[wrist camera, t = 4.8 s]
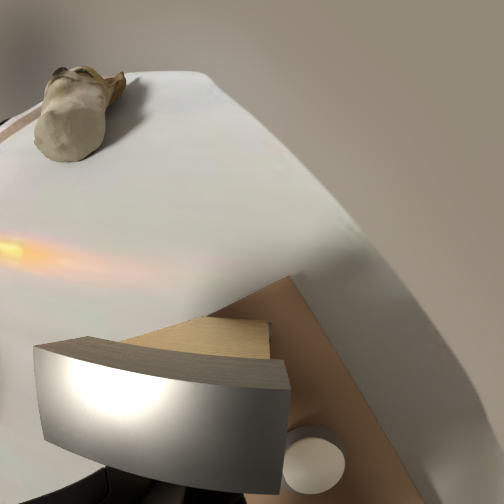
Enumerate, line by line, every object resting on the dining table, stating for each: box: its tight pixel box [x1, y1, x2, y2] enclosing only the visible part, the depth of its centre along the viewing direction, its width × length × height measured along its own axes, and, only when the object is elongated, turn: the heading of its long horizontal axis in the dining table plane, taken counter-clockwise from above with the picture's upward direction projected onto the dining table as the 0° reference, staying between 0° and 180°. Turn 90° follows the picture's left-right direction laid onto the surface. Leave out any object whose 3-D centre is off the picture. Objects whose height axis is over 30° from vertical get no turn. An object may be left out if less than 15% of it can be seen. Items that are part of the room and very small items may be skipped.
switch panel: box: [206, 276, 425, 504], centre depth 11 cm, size 8×21×2 cm, turn 28°
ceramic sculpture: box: [34, 66, 126, 162], centre depth 23 cm, size 11×9×15 cm
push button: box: [283, 437, 345, 494], centre depth 10 cm, size 3×3×1 cm
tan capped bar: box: [33, 316, 291, 495], centre depth 9 cm, size 2×4×12 cm, turn 87°
